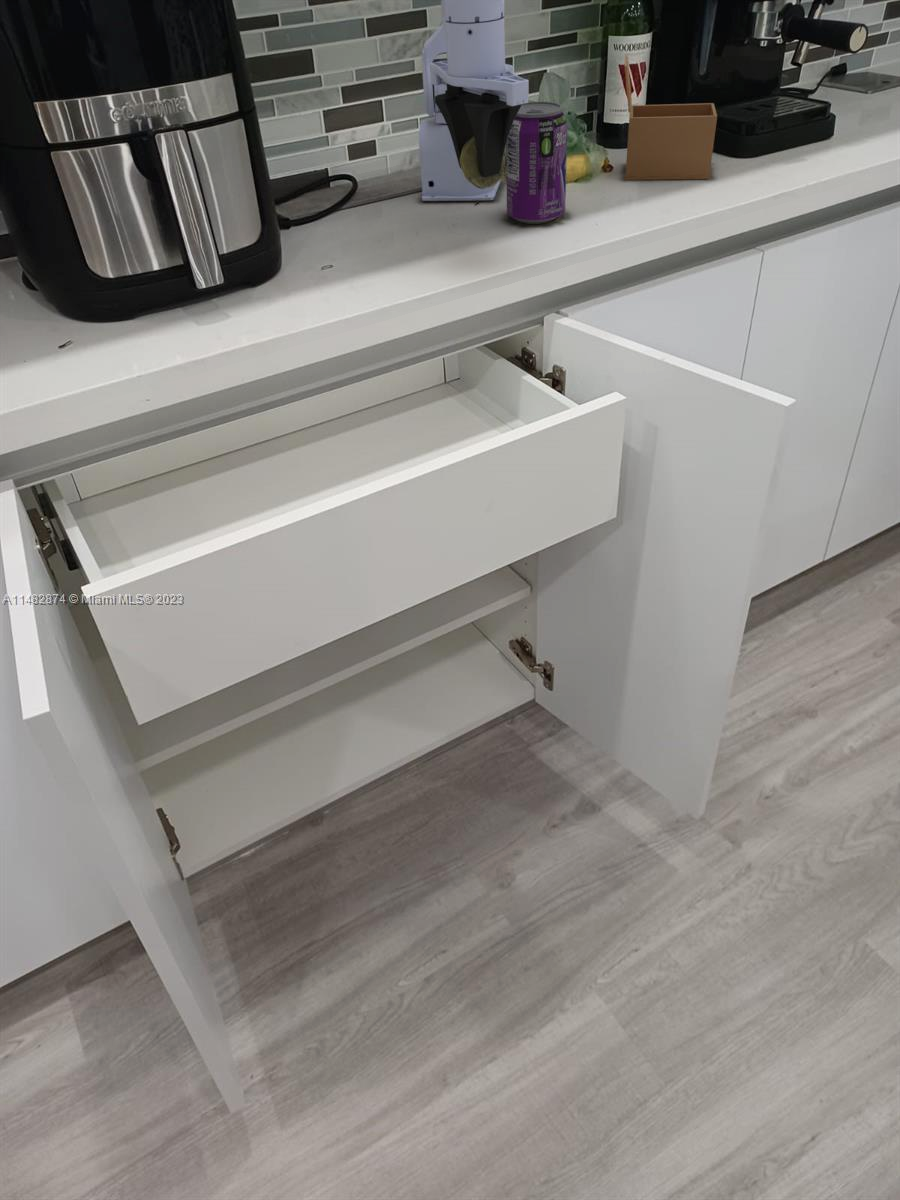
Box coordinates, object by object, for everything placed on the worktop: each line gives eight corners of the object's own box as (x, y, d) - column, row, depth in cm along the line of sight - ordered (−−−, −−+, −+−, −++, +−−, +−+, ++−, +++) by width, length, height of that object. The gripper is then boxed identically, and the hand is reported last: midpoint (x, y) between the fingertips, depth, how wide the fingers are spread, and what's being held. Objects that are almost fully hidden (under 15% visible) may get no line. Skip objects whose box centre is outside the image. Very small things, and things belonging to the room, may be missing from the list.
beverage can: (561, 227, 103) (564, 114, 95) (502, 226, 105) (500, 115, 97) (567, 207, 108) (571, 99, 101) (511, 207, 110) (510, 100, 102)
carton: (625, 180, 116) (629, 118, 111) (626, 165, 121) (630, 105, 116) (709, 179, 114) (717, 116, 109) (706, 164, 119) (713, 103, 114)
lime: (510, 180, 94) (510, 129, 90) (491, 194, 90) (490, 142, 87) (473, 177, 95) (471, 126, 92) (453, 190, 92) (451, 138, 89)
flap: (631, 112, 110) (628, 112, 110) (631, 99, 115) (629, 100, 115) (627, 65, 107) (624, 66, 107) (627, 54, 112) (625, 55, 112)
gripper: (555, 19, 80) (552, 177, 89) (466, 5, 89) (472, 149, 98) (492, 31, 77) (496, 192, 86) (408, 15, 87) (419, 162, 96)
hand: (479, 170), depth 92 cm, fingers closed on lime, 3 cm apart
